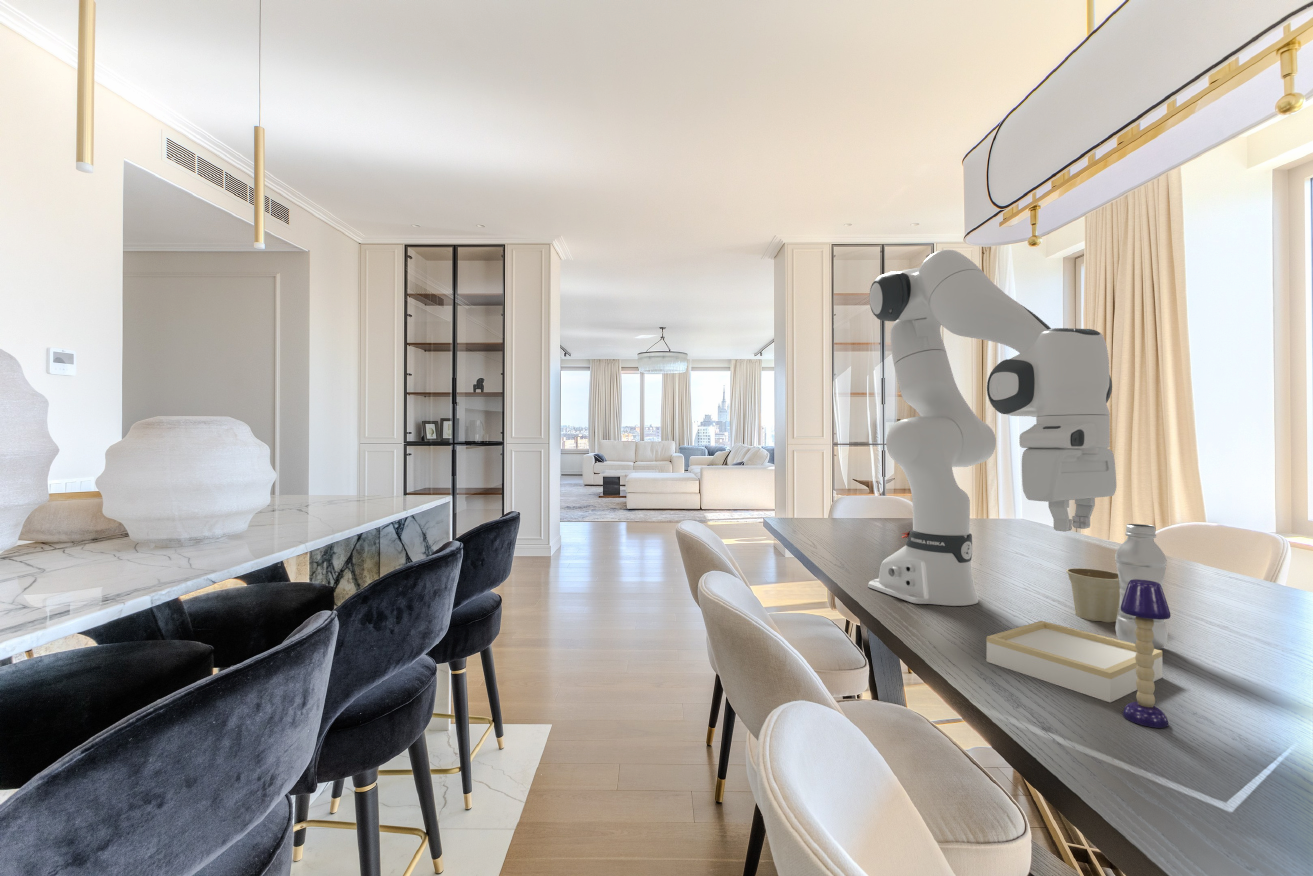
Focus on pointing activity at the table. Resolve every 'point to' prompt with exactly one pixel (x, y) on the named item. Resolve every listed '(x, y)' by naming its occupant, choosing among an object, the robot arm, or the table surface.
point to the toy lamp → (1145, 648)
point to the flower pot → (1095, 593)
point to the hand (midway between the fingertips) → (1072, 529)
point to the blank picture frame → (1070, 658)
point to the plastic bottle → (1139, 577)
